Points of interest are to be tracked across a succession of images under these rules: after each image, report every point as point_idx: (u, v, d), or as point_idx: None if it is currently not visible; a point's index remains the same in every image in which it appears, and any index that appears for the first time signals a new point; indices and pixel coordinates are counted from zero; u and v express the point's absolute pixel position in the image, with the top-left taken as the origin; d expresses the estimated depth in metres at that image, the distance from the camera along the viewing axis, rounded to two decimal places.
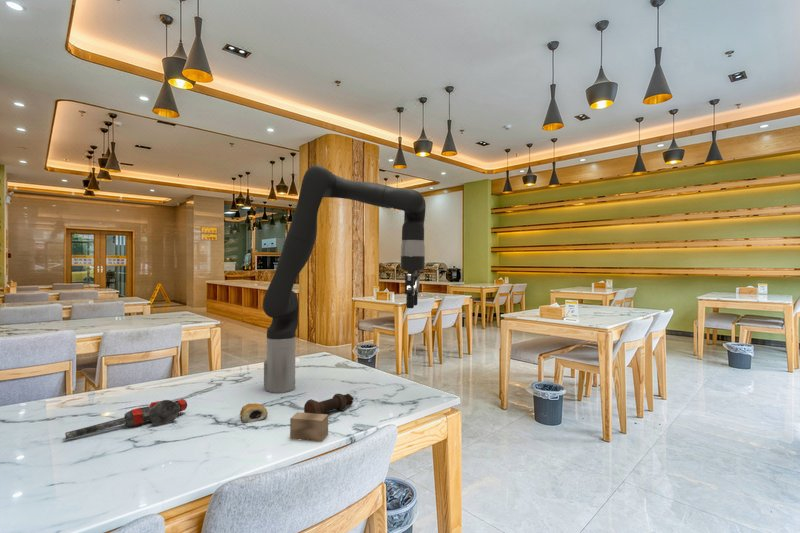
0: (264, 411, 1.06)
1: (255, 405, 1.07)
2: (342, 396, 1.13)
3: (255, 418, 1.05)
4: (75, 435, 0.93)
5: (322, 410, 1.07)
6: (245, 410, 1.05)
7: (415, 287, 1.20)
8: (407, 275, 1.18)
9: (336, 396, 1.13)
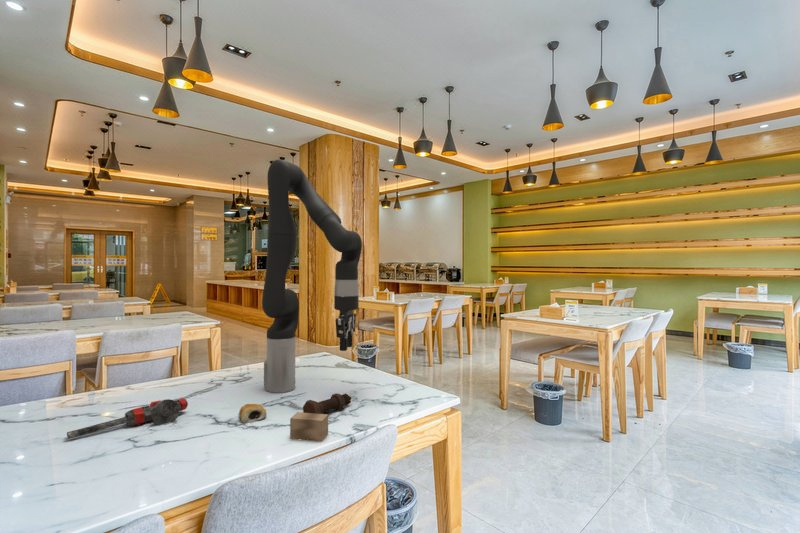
0: (263, 411, 1.05)
1: (254, 405, 1.07)
2: (340, 396, 1.13)
3: (254, 418, 1.04)
4: (77, 435, 0.93)
5: (321, 410, 1.07)
6: (244, 410, 1.04)
7: (348, 330, 1.20)
8: (337, 320, 1.17)
9: (334, 396, 1.13)
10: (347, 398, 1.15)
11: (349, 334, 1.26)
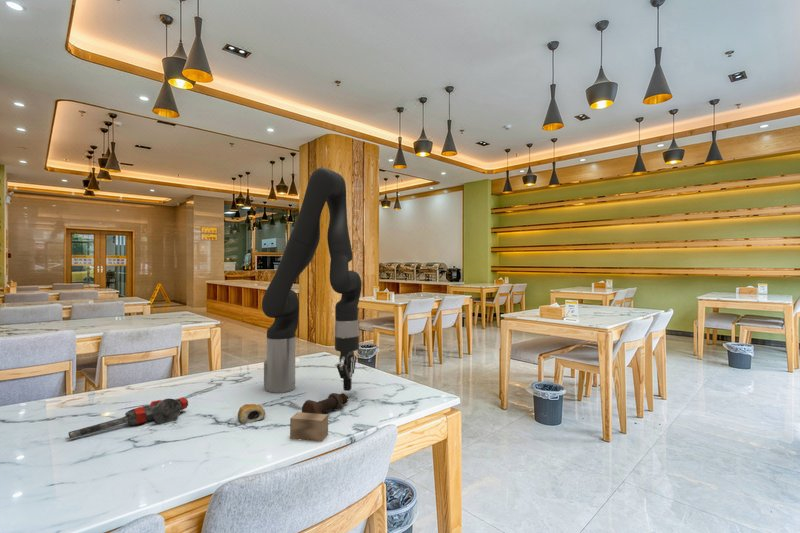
0: (262, 411, 1.05)
1: (253, 405, 1.07)
2: (338, 395, 1.13)
3: (253, 419, 1.04)
4: (79, 434, 0.93)
5: (320, 410, 1.07)
6: (243, 411, 1.04)
7: (350, 371, 1.21)
8: (339, 367, 1.17)
9: (332, 396, 1.13)
10: (344, 397, 1.16)
11: None
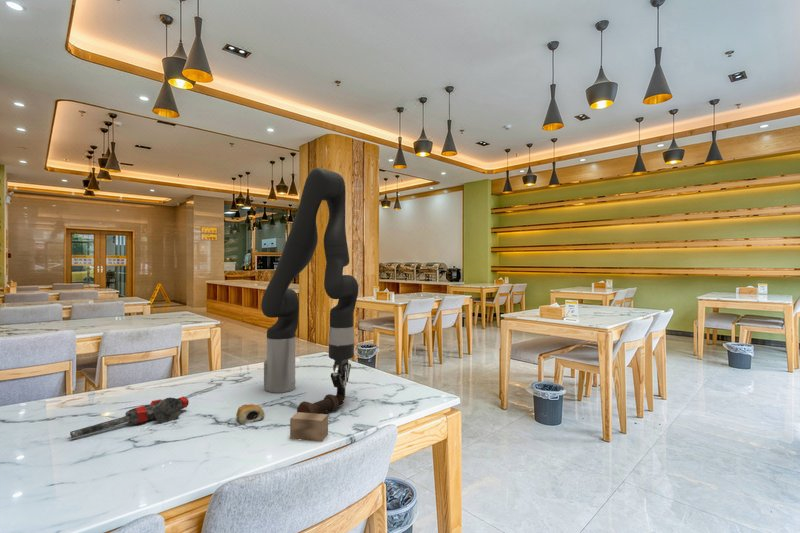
0: (261, 412, 1.05)
1: (252, 406, 1.06)
2: (334, 397, 1.12)
3: (252, 419, 1.04)
4: (81, 434, 0.93)
5: (316, 412, 1.05)
6: (242, 411, 1.04)
7: (344, 380, 1.17)
8: (333, 376, 1.13)
9: (328, 397, 1.12)
10: (340, 399, 1.14)
11: None
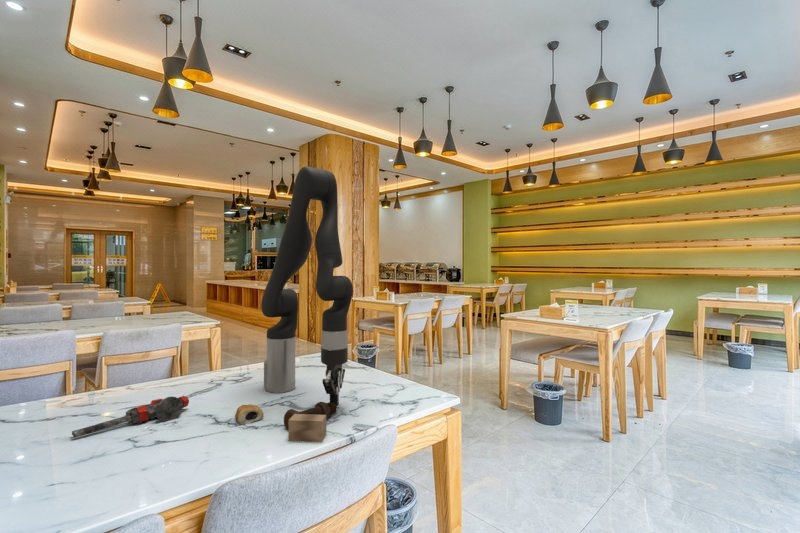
0: (260, 412, 1.05)
1: (251, 406, 1.06)
2: (325, 404, 1.06)
3: (251, 419, 1.04)
4: (83, 433, 0.94)
5: None
6: (241, 411, 1.04)
7: (337, 386, 1.11)
8: (324, 382, 1.07)
9: (318, 405, 1.06)
10: (333, 407, 1.08)
11: None
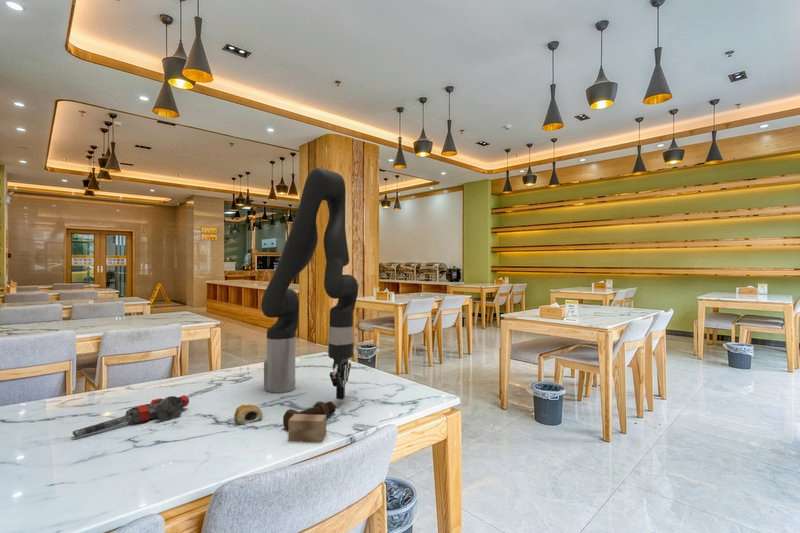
0: (259, 412, 1.05)
1: (250, 406, 1.06)
2: (324, 404, 1.06)
3: (250, 419, 1.04)
4: (84, 433, 0.94)
5: None
6: (240, 412, 1.04)
7: (343, 379, 1.17)
8: (332, 375, 1.13)
9: (317, 404, 1.06)
10: (331, 407, 1.08)
11: None
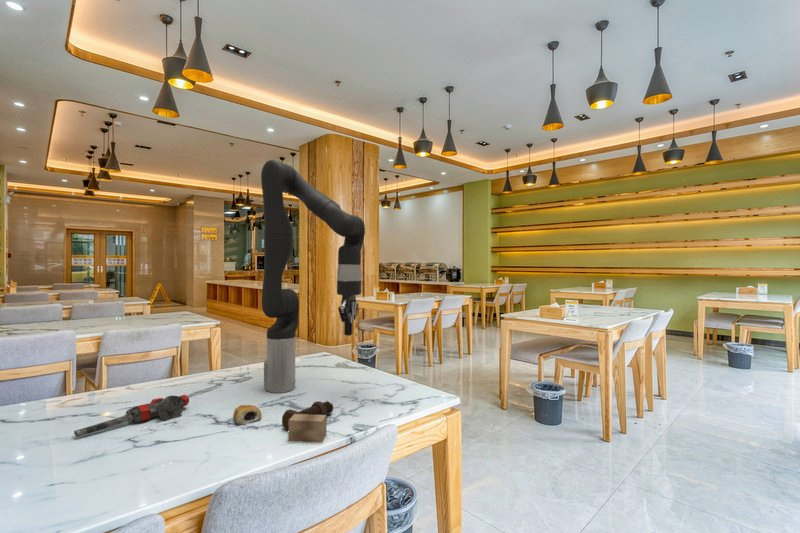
0: (258, 412, 1.05)
1: (249, 406, 1.06)
2: (322, 404, 1.06)
3: (249, 419, 1.04)
4: (86, 433, 0.94)
5: None
6: (239, 412, 1.03)
7: (351, 315, 1.21)
8: (340, 309, 1.17)
9: (315, 404, 1.06)
10: (329, 406, 1.09)
11: None
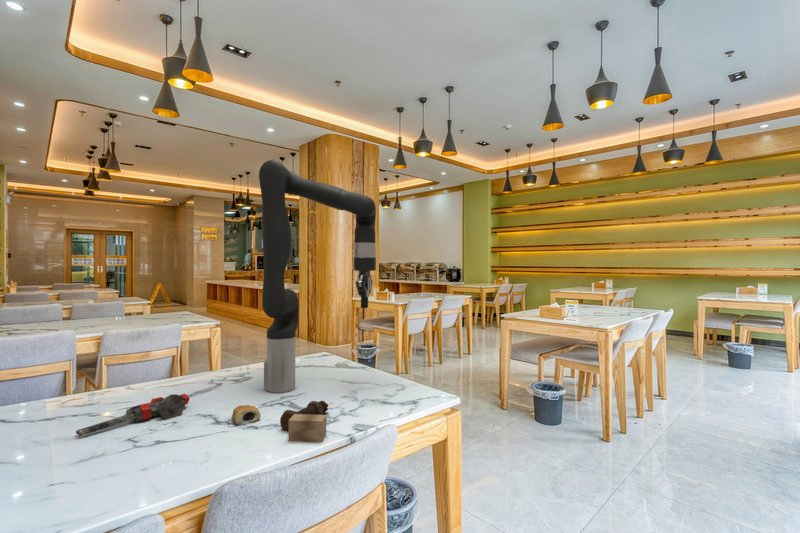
0: (257, 412, 1.05)
1: (248, 407, 1.06)
2: (318, 403, 1.07)
3: (248, 420, 1.03)
4: (88, 432, 0.95)
5: None
6: (238, 412, 1.03)
7: (367, 289, 1.31)
8: (358, 283, 1.27)
9: (311, 404, 1.07)
10: (324, 405, 1.09)
11: None
